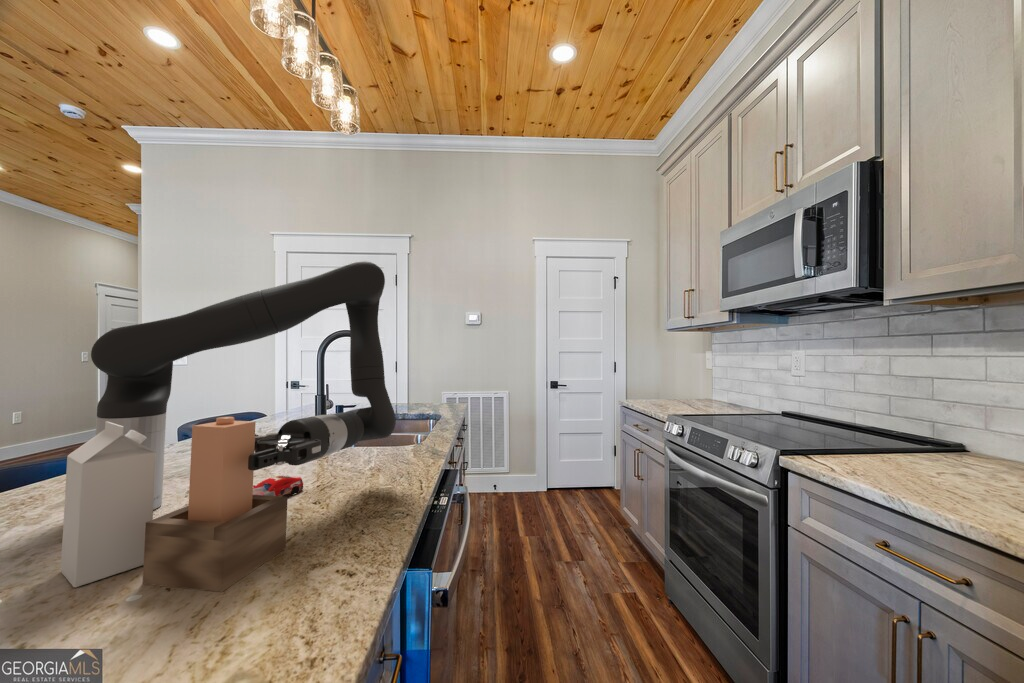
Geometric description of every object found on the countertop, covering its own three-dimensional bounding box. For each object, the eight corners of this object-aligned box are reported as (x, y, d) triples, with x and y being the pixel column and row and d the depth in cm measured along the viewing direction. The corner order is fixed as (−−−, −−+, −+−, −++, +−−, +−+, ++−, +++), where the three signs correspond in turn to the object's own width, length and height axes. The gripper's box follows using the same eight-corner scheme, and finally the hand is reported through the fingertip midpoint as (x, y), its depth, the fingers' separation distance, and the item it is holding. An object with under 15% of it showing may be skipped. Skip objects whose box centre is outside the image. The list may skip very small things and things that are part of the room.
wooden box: (142, 583, 49) (145, 522, 49) (218, 542, 60) (221, 492, 60) (222, 591, 48) (225, 528, 48) (285, 548, 59) (287, 496, 59)
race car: (249, 515, 72) (250, 492, 72) (227, 510, 73) (228, 488, 73) (308, 491, 84) (308, 472, 84) (288, 488, 86) (289, 469, 86)
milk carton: (74, 589, 48) (83, 430, 48) (59, 572, 51) (68, 424, 52) (151, 564, 54) (158, 423, 54) (133, 549, 57) (140, 418, 58)
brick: (187, 525, 52) (192, 419, 53) (221, 510, 57) (226, 414, 58) (219, 528, 51) (224, 421, 52) (251, 513, 56) (255, 415, 57)
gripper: (282, 414, 72) (188, 429, 57) (348, 418, 68) (268, 436, 53) (280, 456, 72) (186, 482, 56) (347, 462, 68) (266, 493, 52)
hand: (226, 460), depth 55 cm, fingers open, 8 cm apart
